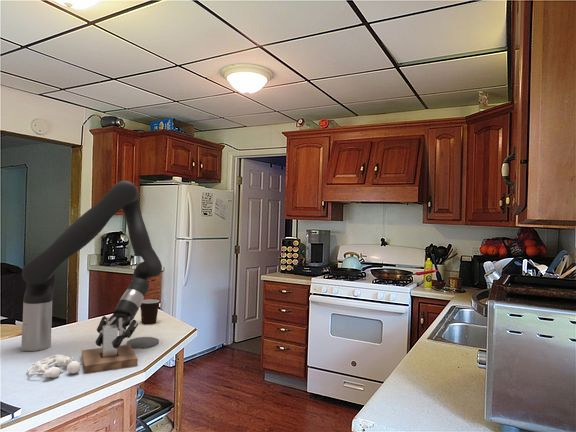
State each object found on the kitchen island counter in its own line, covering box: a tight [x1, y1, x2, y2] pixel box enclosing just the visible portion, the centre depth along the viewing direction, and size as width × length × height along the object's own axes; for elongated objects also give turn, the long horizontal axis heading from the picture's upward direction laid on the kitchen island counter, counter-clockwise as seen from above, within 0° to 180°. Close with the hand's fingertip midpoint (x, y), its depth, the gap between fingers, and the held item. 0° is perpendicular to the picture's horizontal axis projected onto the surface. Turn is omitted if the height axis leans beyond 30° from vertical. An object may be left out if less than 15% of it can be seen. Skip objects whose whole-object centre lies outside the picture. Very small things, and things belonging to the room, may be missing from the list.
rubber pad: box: [126, 336, 160, 349], centre depth 159 cm, size 12×12×1 cm
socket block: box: [80, 344, 139, 374], centre depth 139 cm, size 16×16×2 cm
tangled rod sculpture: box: [27, 353, 82, 379], centre depth 131 cm, size 19×14×4 cm
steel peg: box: [101, 325, 119, 358], centre depth 139 cm, size 4×4×12 cm
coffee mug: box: [139, 299, 160, 325], centre depth 190 cm, size 12×9×10 cm
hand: (106, 346), depth 137 cm, fingers closed on steel peg, 6 cm apart
